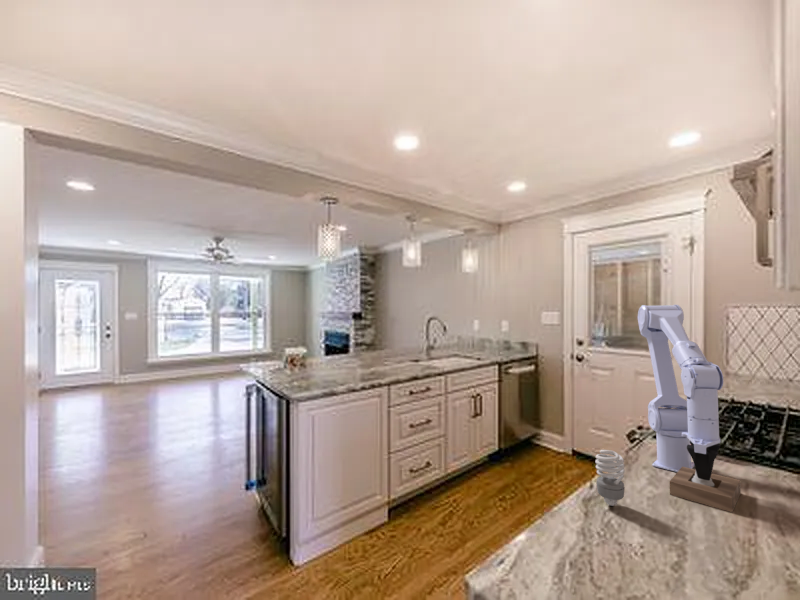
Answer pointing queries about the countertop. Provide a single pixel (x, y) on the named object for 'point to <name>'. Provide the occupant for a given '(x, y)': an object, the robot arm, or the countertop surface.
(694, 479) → the rook chess piece
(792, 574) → the countertop surface
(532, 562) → the countertop surface
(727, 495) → the socket block
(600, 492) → the light bulb
